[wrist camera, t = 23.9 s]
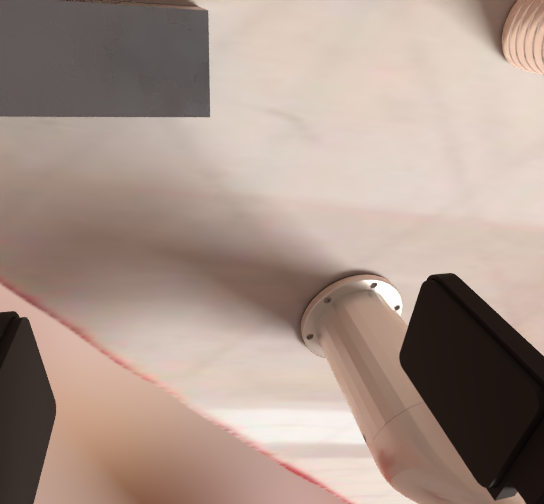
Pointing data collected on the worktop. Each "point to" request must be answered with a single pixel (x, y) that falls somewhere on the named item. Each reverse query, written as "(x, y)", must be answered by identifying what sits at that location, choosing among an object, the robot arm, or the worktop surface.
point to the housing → (103, 59)
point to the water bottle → (525, 36)
